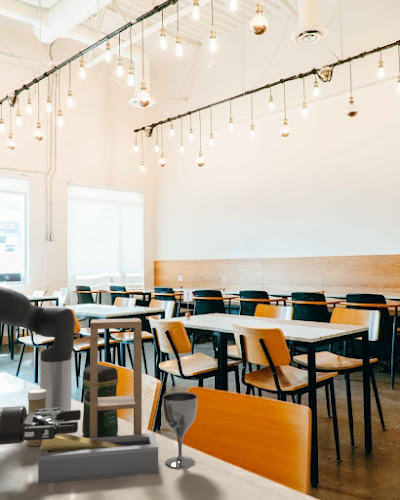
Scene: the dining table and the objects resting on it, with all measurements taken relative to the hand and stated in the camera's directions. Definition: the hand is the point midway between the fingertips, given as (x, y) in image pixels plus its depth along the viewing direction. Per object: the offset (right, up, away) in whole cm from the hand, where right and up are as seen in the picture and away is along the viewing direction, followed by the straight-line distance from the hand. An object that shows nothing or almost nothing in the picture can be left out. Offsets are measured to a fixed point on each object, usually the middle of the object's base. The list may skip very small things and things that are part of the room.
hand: (79, 420), depth 100 cm
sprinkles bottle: (-15, -12, +17) cm, 26 cm away
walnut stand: (+6, -11, +10) cm, 16 cm away
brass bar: (+2, -8, 0) cm, 8 cm away
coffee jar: (0, -13, +23) cm, 26 cm away
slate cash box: (+5, -11, 0) cm, 12 cm away
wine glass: (+22, -11, +4) cm, 25 cm away
